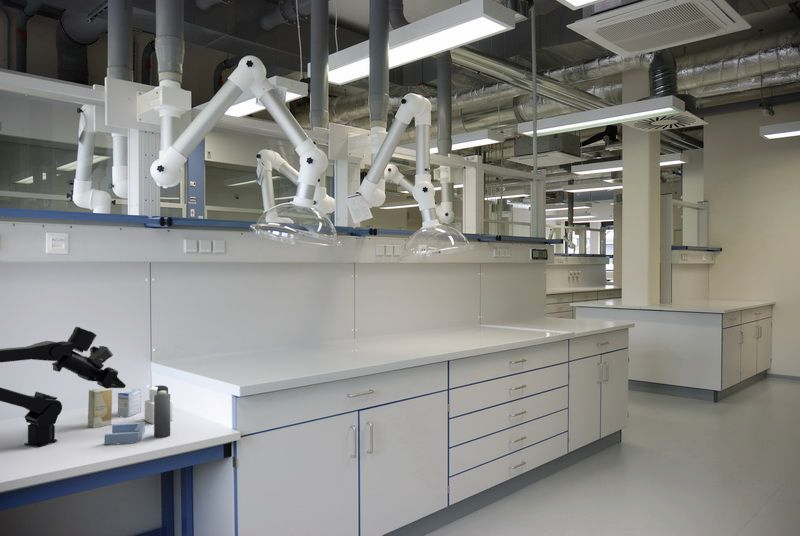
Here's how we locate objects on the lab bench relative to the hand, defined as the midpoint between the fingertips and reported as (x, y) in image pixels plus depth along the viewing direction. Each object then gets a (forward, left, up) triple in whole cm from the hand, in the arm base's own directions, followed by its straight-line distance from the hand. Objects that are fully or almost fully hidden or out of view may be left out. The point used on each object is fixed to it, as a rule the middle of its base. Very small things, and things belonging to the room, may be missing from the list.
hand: (118, 383), depth 200 cm
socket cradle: (-10, -12, -14) cm, 21 cm away
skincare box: (-1, +7, -15) cm, 16 cm away
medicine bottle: (+11, -7, -15) cm, 20 cm away
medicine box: (+14, +9, -15) cm, 22 cm away
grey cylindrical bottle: (-4, -22, -14) cm, 26 cm away
